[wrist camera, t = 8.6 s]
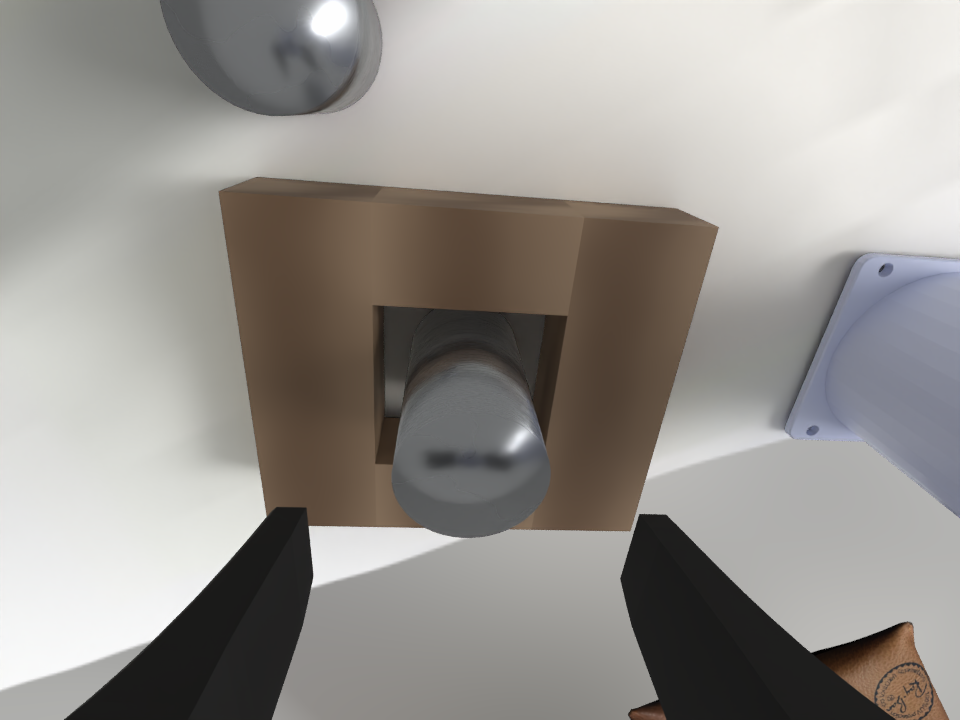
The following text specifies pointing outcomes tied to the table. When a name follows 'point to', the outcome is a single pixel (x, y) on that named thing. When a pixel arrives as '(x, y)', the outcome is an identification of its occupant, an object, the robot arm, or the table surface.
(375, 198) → the wooden square frame
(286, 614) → the robot arm
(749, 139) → the table surface
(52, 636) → the table surface
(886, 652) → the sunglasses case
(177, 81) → the table surface
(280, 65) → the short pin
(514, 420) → the tall pin
